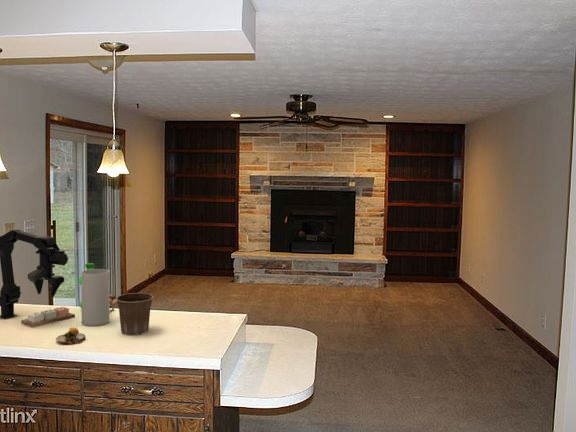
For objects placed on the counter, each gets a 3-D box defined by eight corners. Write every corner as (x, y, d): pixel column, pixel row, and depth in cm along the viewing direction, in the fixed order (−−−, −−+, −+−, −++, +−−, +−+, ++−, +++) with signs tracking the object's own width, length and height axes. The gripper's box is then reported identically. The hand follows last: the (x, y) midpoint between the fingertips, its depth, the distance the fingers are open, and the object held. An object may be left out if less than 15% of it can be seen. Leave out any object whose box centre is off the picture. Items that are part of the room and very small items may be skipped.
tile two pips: (40, 317, 241) (40, 311, 241) (50, 315, 245) (50, 308, 245) (46, 319, 238) (46, 312, 238) (56, 317, 242) (56, 310, 242)
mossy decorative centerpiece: (66, 335, 222) (66, 319, 221) (91, 337, 220) (91, 321, 219) (49, 344, 210) (49, 327, 209) (75, 347, 208) (74, 329, 207)
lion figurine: (109, 317, 250) (109, 299, 250) (98, 317, 250) (97, 299, 249) (115, 309, 265) (115, 292, 264) (104, 309, 264) (104, 292, 263)
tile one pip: (27, 320, 236) (27, 314, 235) (37, 318, 240) (37, 311, 240) (33, 322, 233) (33, 315, 233) (43, 320, 237) (43, 313, 237)
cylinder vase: (104, 317, 249) (104, 268, 247) (112, 323, 240) (112, 272, 237) (78, 321, 242) (78, 270, 240) (86, 328, 232) (85, 275, 230)
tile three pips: (53, 314, 246) (53, 308, 246) (63, 312, 251) (62, 306, 250) (59, 316, 244) (59, 310, 243) (68, 314, 248) (68, 307, 248)
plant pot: (142, 338, 220) (142, 302, 218) (109, 335, 223) (109, 300, 222) (158, 327, 236) (159, 294, 234) (127, 324, 239) (127, 291, 238)
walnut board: (21, 323, 236) (21, 320, 236) (63, 313, 254) (63, 310, 253) (32, 327, 230) (32, 324, 230) (74, 317, 248) (74, 314, 248)
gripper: (17, 263, 234) (17, 296, 235) (44, 268, 226) (44, 302, 227) (38, 260, 244) (38, 291, 245) (65, 264, 236) (65, 297, 237)
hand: (45, 295), depth 238 cm, fingers open, 9 cm apart
